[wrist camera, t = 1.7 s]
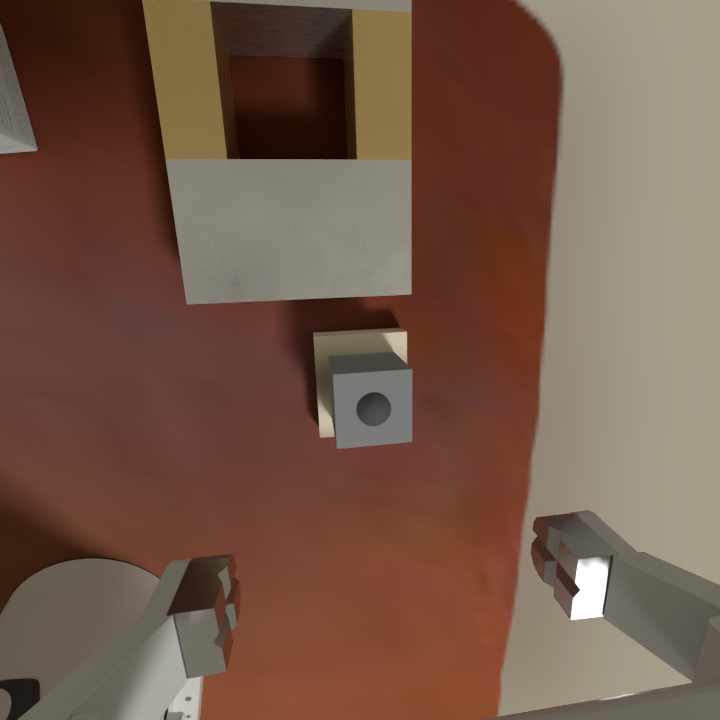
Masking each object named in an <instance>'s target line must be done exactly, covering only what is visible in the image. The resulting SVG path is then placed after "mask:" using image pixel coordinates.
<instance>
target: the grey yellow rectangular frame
mask: <svg viewBox="0 0 720 720" xmlns="http://www.w3.org/2000/svg"><path fill="white" fill-rule="evenodd" d="M142 2H143V9H144V16H145V23H146V30H147V36H148V43H149V50H150V57H151V64H152V70H153V77H154V84H155V91H156V98H157V104H158V111H159V118H160V125H161V132H162V139H163V145H164V152H165V159H166V166H167V173H168V179H169V186H170V193H171V200H172V207H173V214H174V220H175V227H176V234H177V241H178V248H179V254H180V261H181V268H182V275H183V282H184V288H185V295H186V302H187V304H207V303H229V302H251V301H274V300H296V299H318V298H341V297H363V296H385V295H408V294H411V0H142ZM229 55H242V56H269V57H296V58H323V59H343V63H344V89H345V116H346V142H347V160H346V159H240V155H239V145H238V135H237V125H236V115H235V106H234V96H233V86H232V76H231V66H230V57H229Z"/></svg>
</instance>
